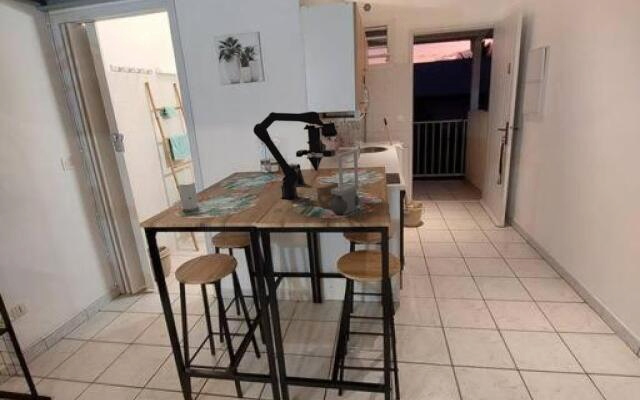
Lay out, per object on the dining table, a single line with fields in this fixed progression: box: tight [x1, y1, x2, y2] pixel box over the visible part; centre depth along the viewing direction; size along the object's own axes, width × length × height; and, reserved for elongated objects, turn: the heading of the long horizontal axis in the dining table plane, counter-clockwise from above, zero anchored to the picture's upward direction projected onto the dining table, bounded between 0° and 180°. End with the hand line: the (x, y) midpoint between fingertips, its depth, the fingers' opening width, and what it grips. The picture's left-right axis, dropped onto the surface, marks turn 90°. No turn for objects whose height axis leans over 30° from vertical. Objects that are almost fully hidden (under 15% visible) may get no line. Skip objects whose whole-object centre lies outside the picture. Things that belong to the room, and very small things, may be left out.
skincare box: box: [178, 181, 199, 210], centre depth 162 cm, size 6×4×12 cm
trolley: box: [330, 149, 360, 216], centre depth 140 cm, size 7×12×25 cm, turn 140°
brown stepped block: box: [309, 181, 339, 210], centre depth 152 cm, size 16×10×9 cm, turn 50°
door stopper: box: [288, 163, 306, 188], centre depth 194 cm, size 9×6×12 cm, turn 146°
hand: (316, 170), depth 168 cm, fingers closed
